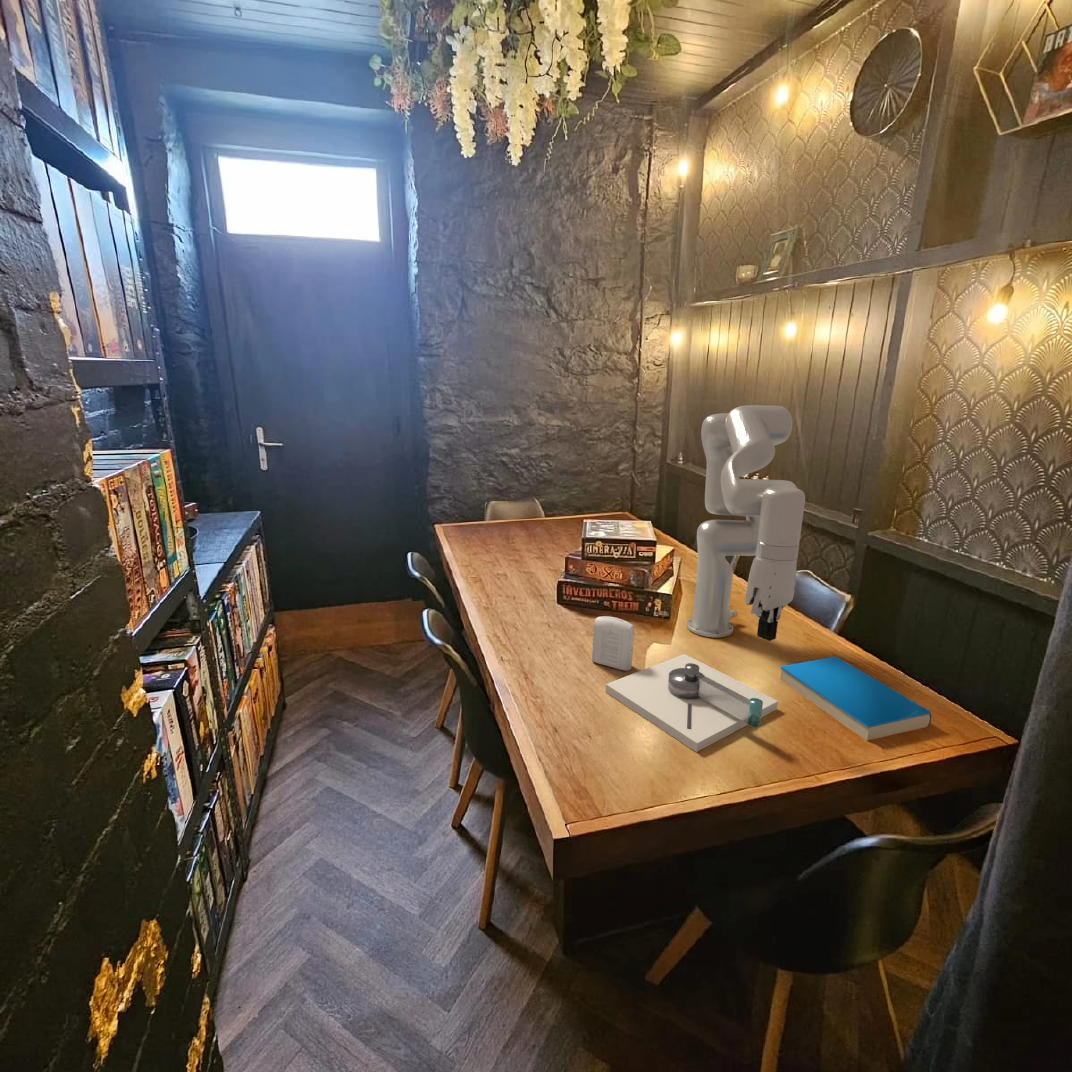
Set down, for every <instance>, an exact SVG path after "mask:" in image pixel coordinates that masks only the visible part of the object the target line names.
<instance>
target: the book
mask: <svg viewBox="0 0 1072 1072" xmlns="http://www.w3.org/2000/svg"><path fill="white" fill-rule="evenodd" d="M780 669H781V671H780V677H779V678H780V681H782V682H783V683H785V684H786V685H787V686H788V687H790V688H792V689H793V690H794V691H796V693H799V694H800V695H801V696H802V697H804V698H806V699H807V700H808V701H810V702H812V704H814V705H815V706H817V707H818V708H819V709H821V710H823V711H824V712H825V713H827V714H828V715H830V716H831V717H832V718H833V719H835V720H837V721H838V722H840V723H841V724H842V725H844V726H845V727H847V728H848V729H849V730H850V731H852V732H854V733H855V734H857V735H858V736H859V737H860V738H862V739H863V740H865V741H867V742H868V741H872V740H876V739H880V738H885V737H888V736H892V735H897V734H902V733H906V732H911V731H915V730H919V729H925V728H927V727H930V725H931V722H932V711H931V710H928V709H927V708H925V707H924V706H922V705H920V704H919V703H917V702H915V701H913V700H911V699H910V698H908V697H906V696H904V695H903V694H901V693H900V692H898V691H896V690H894V689H893V688H891V687H889V686H887V685H886V684H884V683H882V682H881V681H878V680H877V679H875V678H873V676H870V675H868V674H866V673H865V672H863V671H861V670H860V669H858V668H856V667H855V666H854V665H851V664H850V663H848V662H846V661H845V660H843V659H841V658H839V657H838V656H833V657H828V658H821V659H816V660H811V661H805V662H800V663H799V662H798V663H793V664H787V665H782V666H780Z"/></svg>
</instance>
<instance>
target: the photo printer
mask: <svg viewBox="0 0 1072 1072" xmlns="http://www.w3.org/2000/svg"><path fill="white" fill-rule="evenodd" d="M634 641H635V627H634V624H632V623H630V621H629V622H628V621H626V620H625V619H621V618H619V617H615V616H608V615H607V616H606V615H605V616H597V617H596V618H594V624H593V632H592V652H591V653H592V654H591V661H592V662H593V663H596V664H599V665H603V666H607V667H609V668H614V669H617V670H621V671H626V672H627V671H630V670H631V669H632V666H633V656H634V655H633V654H634V653H633V651H634Z"/></svg>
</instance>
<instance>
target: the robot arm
mask: <svg viewBox="0 0 1072 1072" xmlns="http://www.w3.org/2000/svg"><path fill="white" fill-rule="evenodd" d="M792 430H793V417H792V415H791V413H790V411H789V410H788V409H787V408H786V407H784V406H780V405H762V404H761V405H758V404H756V405H755V404H748V405H739V406H738V407H735V408H733V409H731V410H730V411H729V412H726V413H715V414H711V415H708V416H707V417H705V419H704V420H703V421H702V424H701V430H700V431H701V432H700V434H701V435H700V436H701V442H702V443H701V445H702V448H703V452H704V456H705V460H706V472H705V488H704V507H705V509H706V511H707V512H708V513H710V514H713V515H718V516H719V515H720V516H737V517H745V519H746V520H743V519H742V520H739V519H738V520H734V519H733V520H732V519H710V520H705V521H703V522H702V523H700V524H699V526H698V527H697V530H696V543H697V566H696V567H697V569H696V580H695V592H694V601H693V602H694V605H693V614H692V617H691V618H689V619H687V622H686V627H687V629H688V630H689V631H691V632H692V633H694V634H695V635H698V636H701V637H706V638H715V639H716V638H726V637H729V636H730V635H732V634H733V632H734V625H732V623H731V622H730V620H731V619H733V618H736V617H738V611H737V610H736V609H732V610H730V607H731V606H730V605H731V598H732V589H733V578H734V570H733V568H732V565H731V563H729V562H728V560H727V559H726V557H727V556H731V557H732V556H744V557H753V556H754V558H753V560H752V563H751V567H750V570H749V575H748V579H747V586H746V591H745V599H744V600H745V601H744V603H745V604H746V605H747V606H751V611H750V614H751V615H753V616H755V617H757V619H758V623H757V633H756V635H757V637H759V638H762V639H763V640H766V641H769V642H770V641H773V640H776V639H777V633H778V632H777V631H778V624H779V620H780V618H781V616H782V615H781V614H782V612H783V609H784V608H786V607H787V606H788V604H789V603H791V602H792V601H793V599H794V597H795V590H796V582H797V562H798V558H799V557H798V555H799V548H800V542H801V541H800V540H801V533H802V525H803V517H804V510H805V503H806V495H805V492H804V491H803V490H802V489H799V488H798V486H796V484H795V483H794V482H792V481H790V480H785V479H784V480H783V479H757V478H756V479H755V478H753V479H752V478H751V479H750V478H749V479H748V478H747V479H746V478H740V477H743V476H747V475H748V474H751V473H754V472H757V471H759V470H762V469H763V468H765V467H766V466H768V465H769V464H770V463H771V462H772V461H773V460H774V458H775V454H776V448H775V446H777V445H780V444H783V443H785V442H787V440H788V439H789V438H790V435H791V434H792V432H793V431H792Z"/></svg>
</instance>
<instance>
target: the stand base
mask: <svg viewBox="0 0 1072 1072" xmlns="http://www.w3.org/2000/svg"><path fill="white" fill-rule="evenodd" d="M688 663H693V664H696V665H698V666H699V672H701V673H702V674H703V675H704V676H705V677H708V678H710V679H712V680H713V681H715V682H717V683H719V684H721V685H723V686H725V687H727V688H729V689H731V690H733V691H734V692H736V693H738V694H740V695H742V696H744V697H746V698H748V699H751V698H758V699H760V700H762V701H763V706H762V714H761V719H762V718H763V717H765V716H767V715H769V714H771V713H773V712H774V711H776V710H778V704H779V700H777V699H775V698H774V697H770V696H769V695H766V694H764V693H762V692H760V691H759V690H757V689H755V688H753V687H751V686H749V685H747V684H745V683H743V682H741V681H738V680H737V679H735V678H733V677H731V676H729V675H727V674H725V673H723V672H721V671H719V670H717V669H715V668H713V667H711V666H709V665H707V664H705V663H703V662H701V661H699V660H698V659H695V658H693V657H692V656H690V655H687V654H685V653H683V654H681V655H678V656H675V657H673V658H670V659H668V660H666V661H663V662H660V663H657V664H655V665H652V666H648V668H644V669H642V670H639V671H637V672H633V673H632V674H628V675H626V676H624V677H621V678H619V679H616V680H614V681H613V680H612V681H611V682H608V683H606V684H605V693H606V694H608V695H609V696H611V697H613V698H614V699H615V700H617V701H618V702H620V703H621V704H623V705H624V706H626V707H628V708H629V709H630V710H632V711H634V712H635V713H636V712H637V714H638V715H639V716H641V717H642V718H644V719H646V720H647V721H649V722H650V723H652V724H653V725H655V726H656V727H658V728H659V729H660V730H662V731H664V732H665V733H667V735H669V736H671V737H673V738H674V739H676V740H677V741H679V742H680V743H682V744H683V745H685V746H686V747H688V748H689V749H691V750H692V751H694V752H695V753H698V752H700V751H701V750H703V749H705V748H707V747H709V746H710V745H713V744H714V743H716V742H719V741H720V740H722V739H724V738H725V737H728V736H730V735H731V734H733V733H735V732H738V731H739V730H741V729H742V728H744V727H746V726H749V725H748V724H747V723H745V722H744V721H742V720H740V719H738V718H736V717H735V716H733V715H731V714H729V713H728V712H726V711H724V710H722V709H720V708H719V707H717V706H715V705H713V704H712V703H710V702H708V701H706V700H705V699H703V698H701V697H700V698H697V699H685V698H681V697H678V696H676V695H674V694H672V693H671V692H670V691H669V689H668V680H669V673H670V672H671V671H672V670H674V669H678V668H685V665H686V664H688Z"/></svg>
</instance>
